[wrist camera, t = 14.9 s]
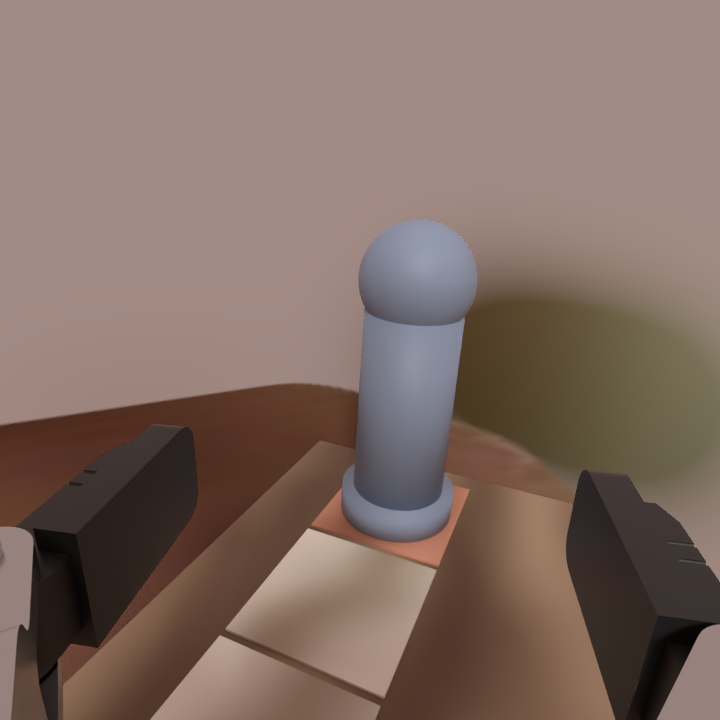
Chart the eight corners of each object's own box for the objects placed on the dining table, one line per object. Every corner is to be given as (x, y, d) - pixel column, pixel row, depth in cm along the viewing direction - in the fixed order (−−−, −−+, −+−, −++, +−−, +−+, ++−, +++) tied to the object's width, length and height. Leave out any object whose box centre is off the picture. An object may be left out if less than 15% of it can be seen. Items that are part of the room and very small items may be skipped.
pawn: (321, 519, 23) (333, 217, 18) (368, 465, 27) (386, 210, 23) (431, 557, 21) (473, 231, 16) (462, 493, 25) (502, 221, 21)
